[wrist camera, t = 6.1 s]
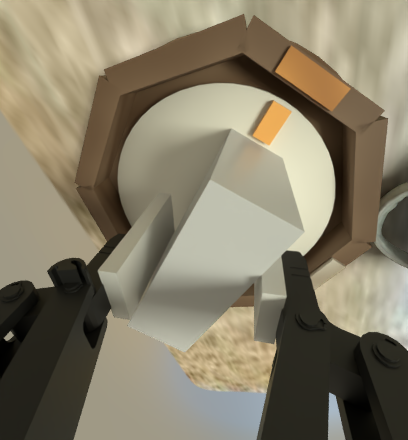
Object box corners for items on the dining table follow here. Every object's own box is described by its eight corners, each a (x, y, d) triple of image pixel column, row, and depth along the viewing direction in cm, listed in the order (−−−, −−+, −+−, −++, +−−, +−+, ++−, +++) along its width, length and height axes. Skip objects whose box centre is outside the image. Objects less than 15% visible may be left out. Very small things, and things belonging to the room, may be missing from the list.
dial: (250, 295, 20) (247, 404, 14) (106, 222, 19) (25, 304, 12) (387, 163, 13) (528, 263, 6) (164, 26, 11) (39, -34, 5)
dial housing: (59, 90, 16) (11, 95, 12) (375, -34, 10) (427, -79, 7) (158, 282, 24) (143, 314, 21) (357, 270, 19) (377, 310, 16)
